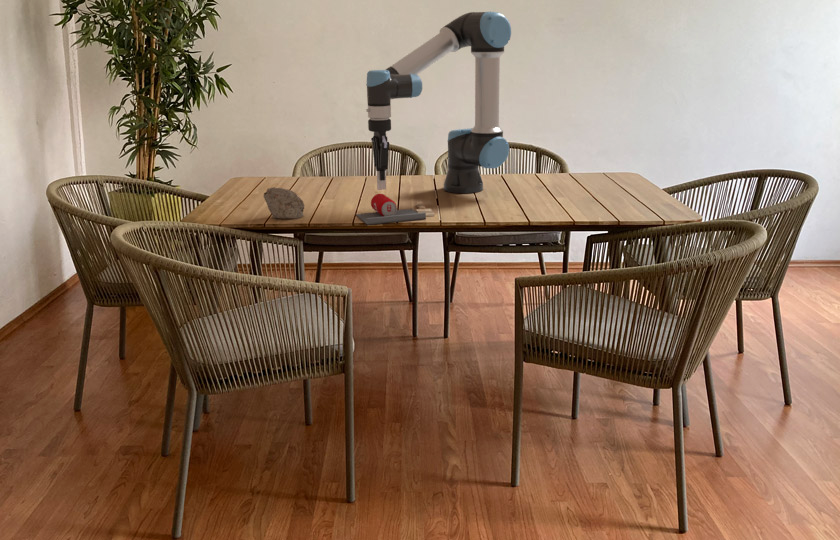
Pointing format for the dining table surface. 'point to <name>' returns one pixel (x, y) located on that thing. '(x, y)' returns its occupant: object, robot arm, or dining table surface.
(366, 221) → the mat
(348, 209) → the dining table surface
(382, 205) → the beverage can
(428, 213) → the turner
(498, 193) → the dining table surface
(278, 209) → the rock
